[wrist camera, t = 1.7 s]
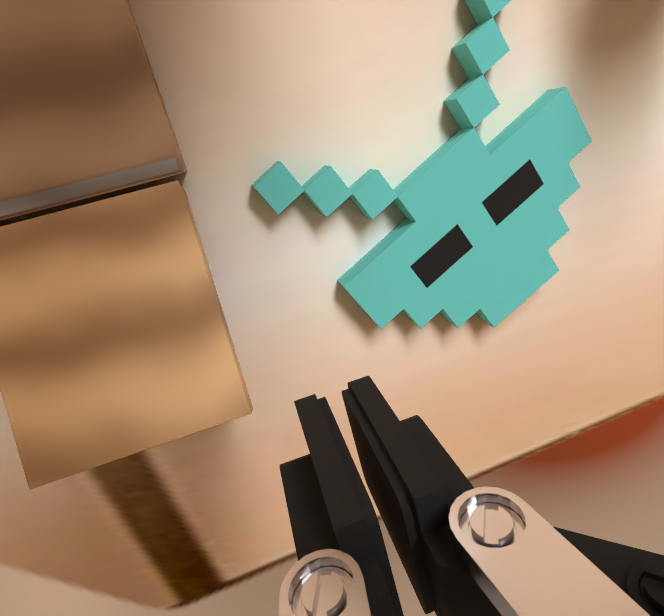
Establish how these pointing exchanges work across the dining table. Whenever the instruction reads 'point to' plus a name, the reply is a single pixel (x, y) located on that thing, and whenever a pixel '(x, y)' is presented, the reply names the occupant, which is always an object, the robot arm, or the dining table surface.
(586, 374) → the dining table surface
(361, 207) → the alien figure
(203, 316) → the oak plank
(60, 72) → the walnut board
